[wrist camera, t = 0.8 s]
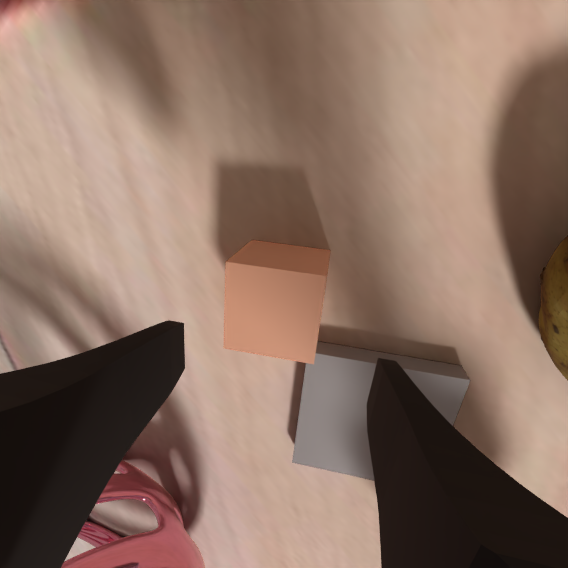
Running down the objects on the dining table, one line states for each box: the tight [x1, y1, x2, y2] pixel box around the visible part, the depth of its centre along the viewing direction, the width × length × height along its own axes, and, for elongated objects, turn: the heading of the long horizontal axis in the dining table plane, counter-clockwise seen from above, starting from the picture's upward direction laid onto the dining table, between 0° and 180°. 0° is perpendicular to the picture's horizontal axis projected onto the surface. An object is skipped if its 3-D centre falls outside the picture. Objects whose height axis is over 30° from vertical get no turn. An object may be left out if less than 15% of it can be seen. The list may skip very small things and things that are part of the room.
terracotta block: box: [224, 240, 330, 364], centre depth 18 cm, size 5×5×5 cm
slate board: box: [292, 341, 470, 480], centre depth 22 cm, size 10×10×2 cm
